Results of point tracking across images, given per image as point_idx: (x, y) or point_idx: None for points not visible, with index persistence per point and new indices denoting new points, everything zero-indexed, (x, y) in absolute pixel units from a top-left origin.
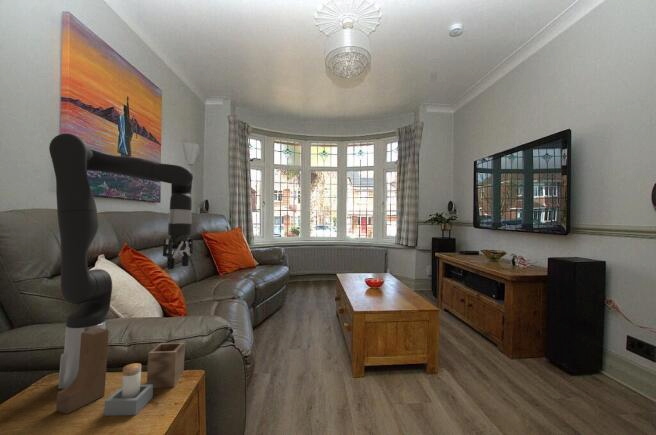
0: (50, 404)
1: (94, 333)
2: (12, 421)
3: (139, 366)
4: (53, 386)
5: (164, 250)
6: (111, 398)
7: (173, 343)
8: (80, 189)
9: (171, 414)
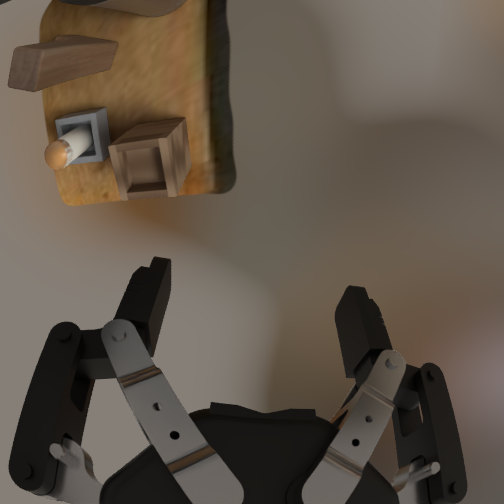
0: (87, 9)
1: (11, 85)
2: (52, 6)
3: (58, 169)
4: None
5: (41, 375)
6: (60, 125)
7: (167, 171)
8: None
9: (84, 201)
